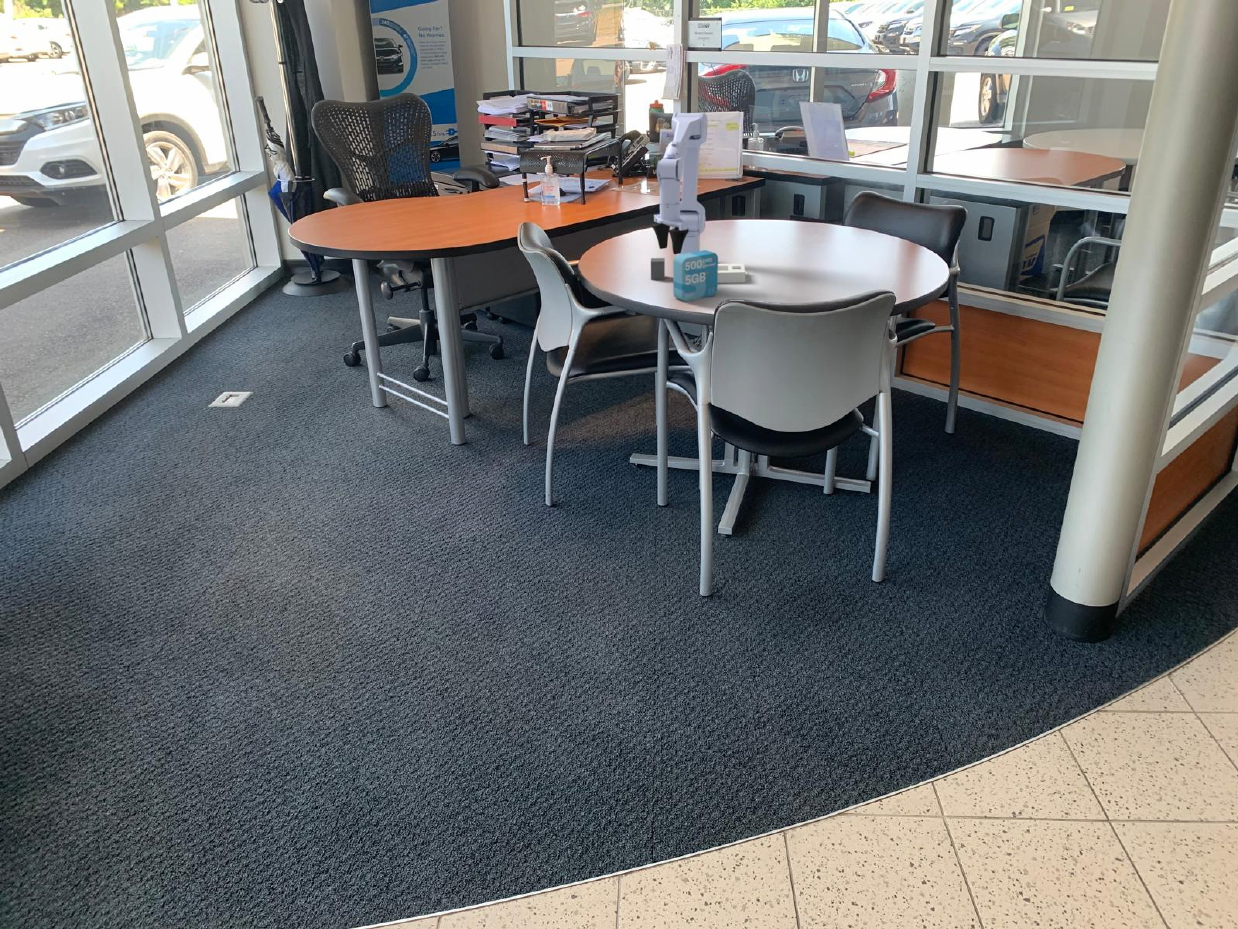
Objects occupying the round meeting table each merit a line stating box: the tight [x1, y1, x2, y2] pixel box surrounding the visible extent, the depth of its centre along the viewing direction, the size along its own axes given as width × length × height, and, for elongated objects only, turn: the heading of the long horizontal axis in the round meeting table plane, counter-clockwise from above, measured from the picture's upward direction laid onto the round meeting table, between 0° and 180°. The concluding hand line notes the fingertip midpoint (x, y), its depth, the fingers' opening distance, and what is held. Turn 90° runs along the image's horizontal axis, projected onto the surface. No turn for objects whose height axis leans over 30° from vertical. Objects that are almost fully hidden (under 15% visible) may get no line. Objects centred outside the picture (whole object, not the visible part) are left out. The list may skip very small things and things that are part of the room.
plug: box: [650, 257, 666, 281], centre depth 269 cm, size 4×4×6 cm
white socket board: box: [717, 263, 746, 284], centre depth 268 cm, size 10×18×3 cm, turn 86°
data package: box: [672, 249, 719, 302], centre depth 249 cm, size 12×4×12 cm, turn 122°
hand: (670, 250), depth 263 cm, fingers open, 7 cm apart
